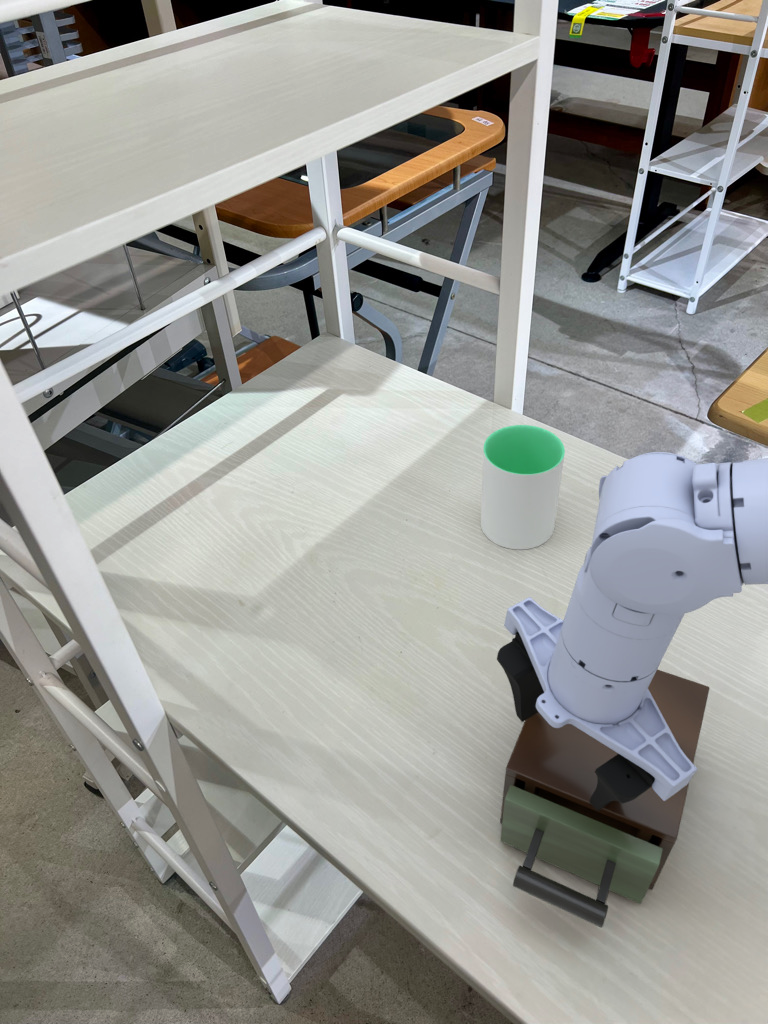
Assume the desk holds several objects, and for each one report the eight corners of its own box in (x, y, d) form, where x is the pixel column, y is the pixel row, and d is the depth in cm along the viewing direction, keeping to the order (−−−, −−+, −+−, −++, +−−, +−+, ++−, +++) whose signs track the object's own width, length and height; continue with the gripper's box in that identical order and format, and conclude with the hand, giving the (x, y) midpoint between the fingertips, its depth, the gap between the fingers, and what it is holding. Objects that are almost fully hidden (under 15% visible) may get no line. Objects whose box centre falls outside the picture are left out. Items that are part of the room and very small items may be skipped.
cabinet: (652, 890, 54) (677, 839, 48) (499, 822, 58) (505, 768, 52) (685, 745, 62) (710, 686, 56) (549, 695, 66) (558, 635, 60)
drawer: (626, 965, 50) (644, 930, 45) (479, 894, 53) (482, 855, 49) (673, 765, 60) (692, 720, 55) (547, 718, 63) (554, 671, 59)
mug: (482, 475, 88) (485, 402, 81) (551, 477, 87) (560, 404, 80) (479, 547, 80) (482, 473, 73) (556, 551, 79) (566, 476, 72)
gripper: (478, 583, 45) (457, 702, 55) (658, 777, 37) (596, 878, 46) (565, 540, 48) (531, 660, 58) (751, 710, 40) (674, 818, 49)
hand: (565, 754), depth 52 cm, fingers open, 7 cm apart
